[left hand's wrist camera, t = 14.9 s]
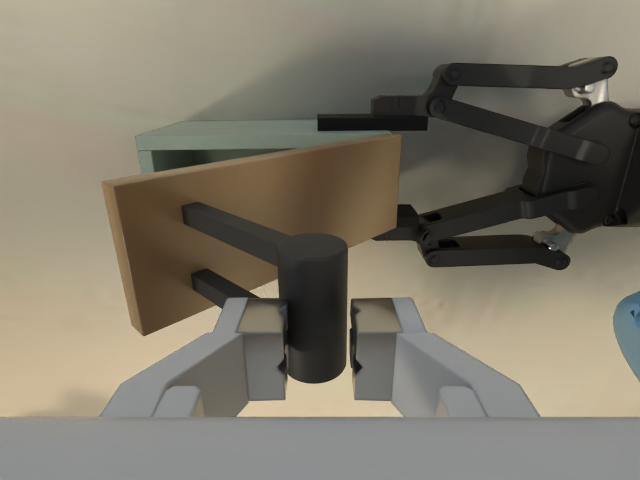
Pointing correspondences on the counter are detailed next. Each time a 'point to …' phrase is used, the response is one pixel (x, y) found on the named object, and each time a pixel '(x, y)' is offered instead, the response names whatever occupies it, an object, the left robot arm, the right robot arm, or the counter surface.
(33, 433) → the left robot arm
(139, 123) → the counter surface
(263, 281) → the lid
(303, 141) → the chest
